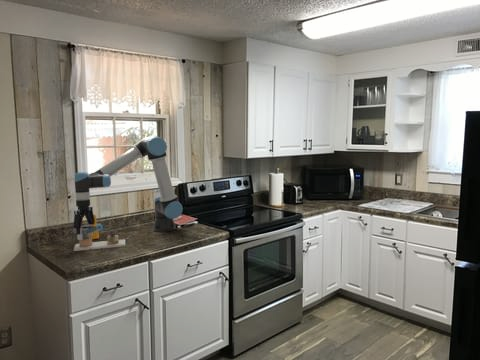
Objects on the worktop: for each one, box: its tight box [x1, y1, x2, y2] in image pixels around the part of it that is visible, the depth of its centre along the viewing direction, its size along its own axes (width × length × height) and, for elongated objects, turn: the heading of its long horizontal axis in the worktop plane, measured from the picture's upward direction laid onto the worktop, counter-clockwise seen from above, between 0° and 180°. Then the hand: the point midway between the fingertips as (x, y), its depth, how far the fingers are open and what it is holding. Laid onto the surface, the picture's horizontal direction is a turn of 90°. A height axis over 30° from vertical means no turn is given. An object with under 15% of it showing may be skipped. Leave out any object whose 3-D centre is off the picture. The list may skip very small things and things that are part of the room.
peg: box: [78, 234, 93, 247], centre depth 221 cm, size 7×7×9 cm
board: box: [73, 238, 126, 252], centre depth 224 cm, size 28×11×1 cm, turn 107°
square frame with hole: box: [72, 225, 96, 235], centre depth 221 cm, size 9×9×2 cm
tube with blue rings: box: [84, 214, 104, 240], centre depth 241 cm, size 12×10×15 cm
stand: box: [106, 229, 120, 244], centre depth 226 cm, size 6×6×8 cm
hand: (85, 237), depth 221 cm, fingers closed on square frame with hole, 9 cm apart
